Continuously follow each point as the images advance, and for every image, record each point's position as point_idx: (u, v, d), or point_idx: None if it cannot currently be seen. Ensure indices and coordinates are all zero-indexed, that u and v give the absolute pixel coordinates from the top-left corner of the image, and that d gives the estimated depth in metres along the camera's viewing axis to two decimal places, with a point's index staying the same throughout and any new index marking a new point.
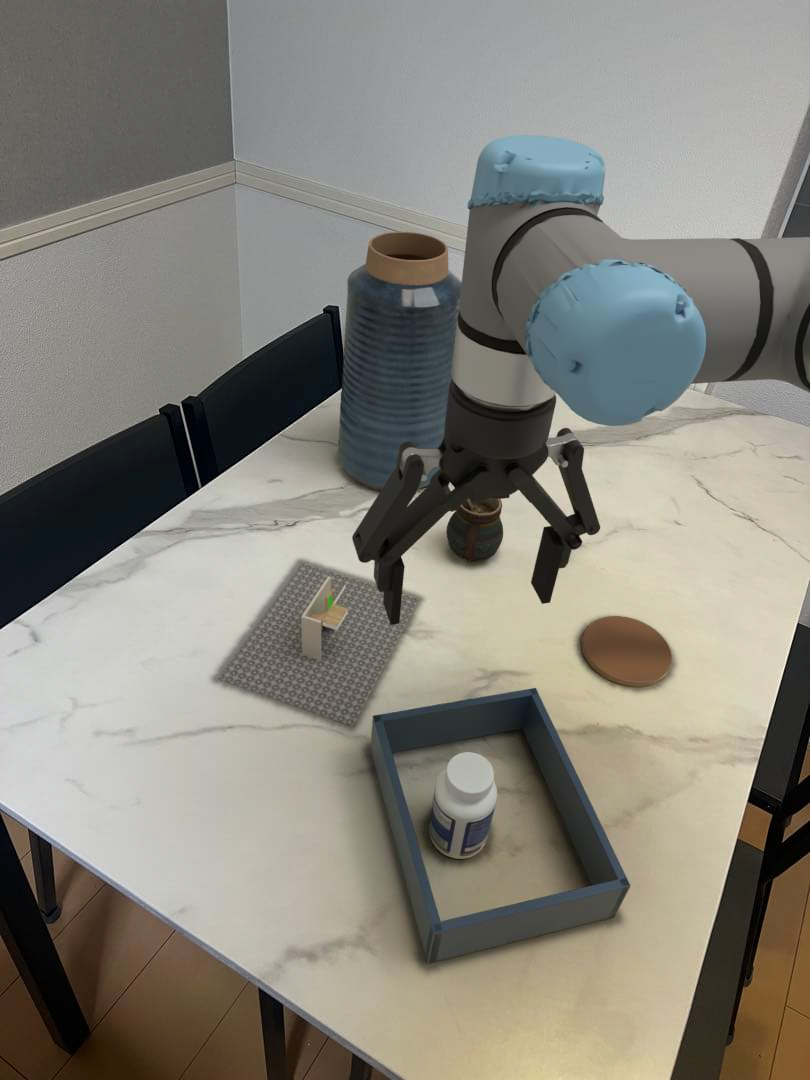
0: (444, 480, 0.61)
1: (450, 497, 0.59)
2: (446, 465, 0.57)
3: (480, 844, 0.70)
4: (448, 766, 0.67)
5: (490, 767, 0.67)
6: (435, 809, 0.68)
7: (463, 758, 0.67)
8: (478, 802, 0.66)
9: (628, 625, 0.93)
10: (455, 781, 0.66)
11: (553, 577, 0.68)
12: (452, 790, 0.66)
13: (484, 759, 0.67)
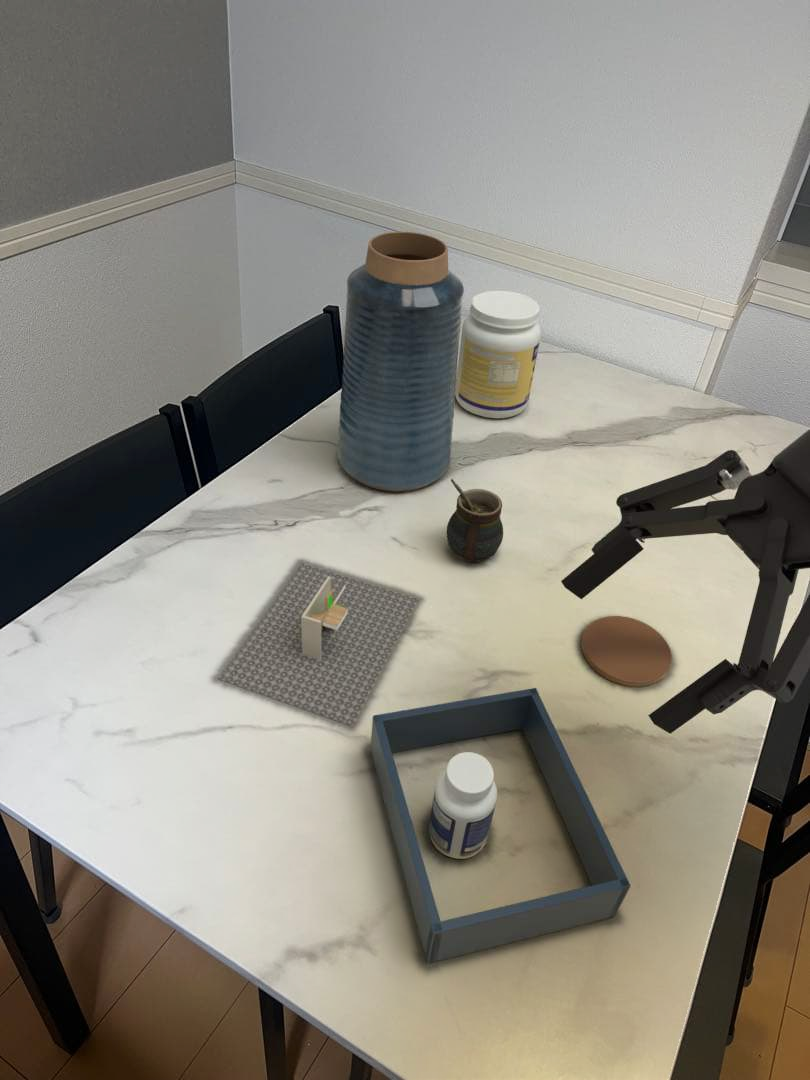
0: None
1: (718, 501, 0.58)
2: (746, 479, 0.58)
3: (480, 844, 0.70)
4: (448, 766, 0.67)
5: (490, 767, 0.67)
6: (435, 809, 0.68)
7: (463, 758, 0.67)
8: (478, 802, 0.66)
9: (628, 625, 0.93)
10: (455, 781, 0.66)
11: (687, 694, 0.54)
12: (452, 790, 0.66)
13: (484, 759, 0.67)
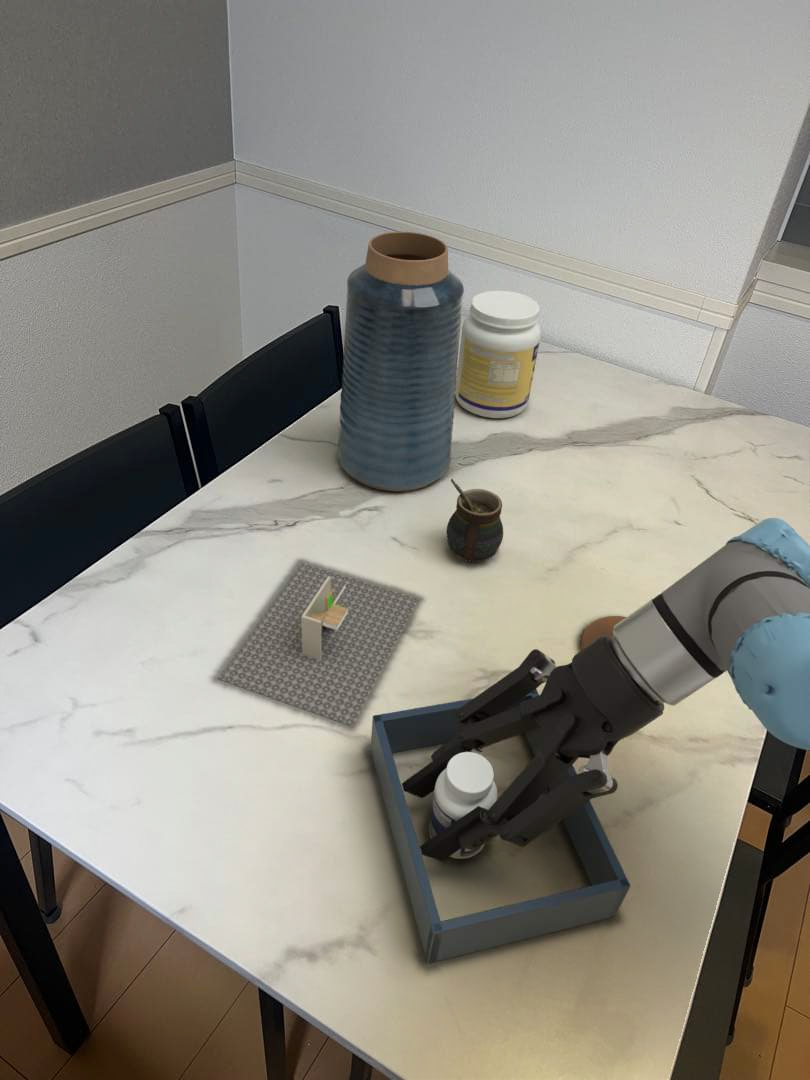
0: None
1: (527, 700, 0.66)
2: (553, 671, 0.67)
3: None
4: (448, 766, 0.67)
5: (490, 767, 0.67)
6: (435, 809, 0.68)
7: (463, 758, 0.67)
8: (478, 802, 0.66)
9: None
10: (455, 781, 0.66)
11: (448, 832, 0.66)
12: (452, 790, 0.66)
13: (484, 759, 0.67)
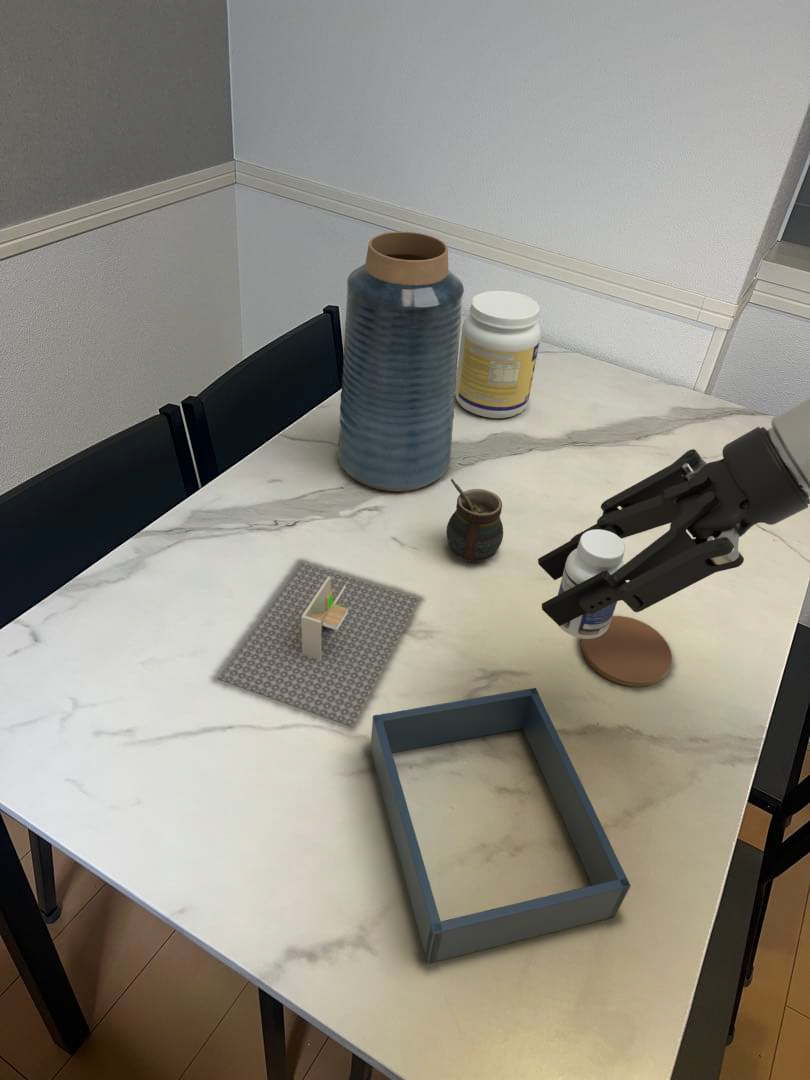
0: None
1: (672, 486, 0.69)
2: (704, 466, 0.69)
3: (599, 626, 0.74)
4: (583, 535, 0.71)
5: (623, 544, 0.70)
6: (563, 579, 0.73)
7: (599, 533, 0.71)
8: None
9: (628, 625, 0.93)
10: (587, 546, 0.70)
11: (570, 592, 0.70)
12: (582, 554, 0.70)
13: (619, 538, 0.71)
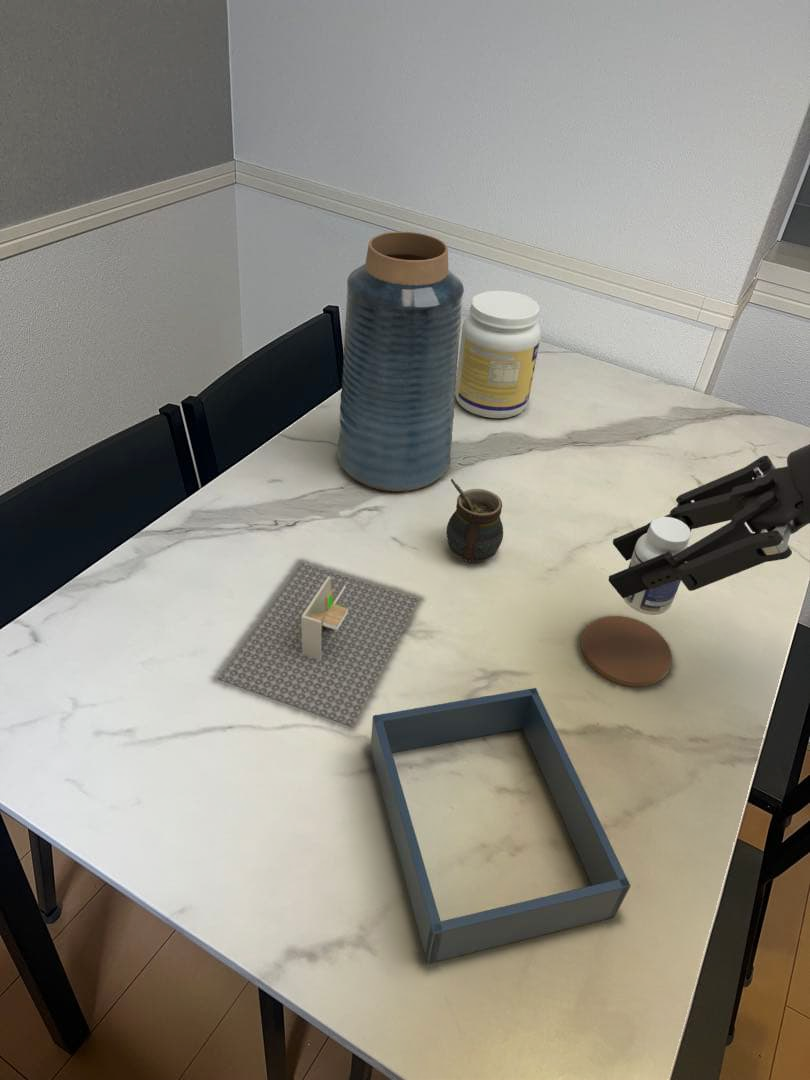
0: None
1: (741, 486, 0.77)
2: (772, 470, 0.76)
3: (660, 604, 0.82)
4: (654, 520, 0.80)
5: (689, 532, 0.79)
6: (632, 557, 0.82)
7: (669, 520, 0.80)
8: None
9: (628, 625, 0.93)
10: (655, 529, 0.79)
11: (635, 568, 0.79)
12: (650, 536, 0.79)
13: (686, 526, 0.79)
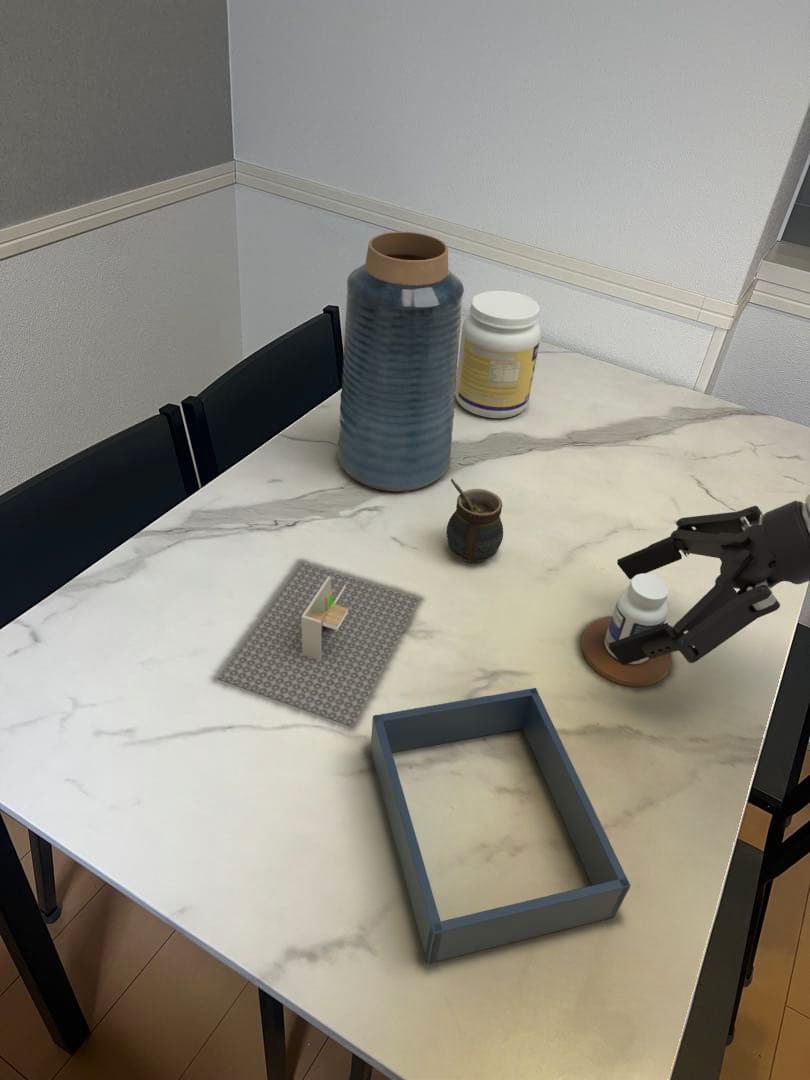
0: None
1: (726, 533, 0.82)
2: (752, 526, 0.81)
3: None
4: (634, 576, 0.85)
5: (667, 589, 0.84)
6: (614, 610, 0.87)
7: (649, 577, 0.85)
8: (648, 611, 0.84)
9: None
10: (636, 586, 0.84)
11: (635, 636, 0.80)
12: (630, 592, 0.84)
13: (665, 583, 0.84)
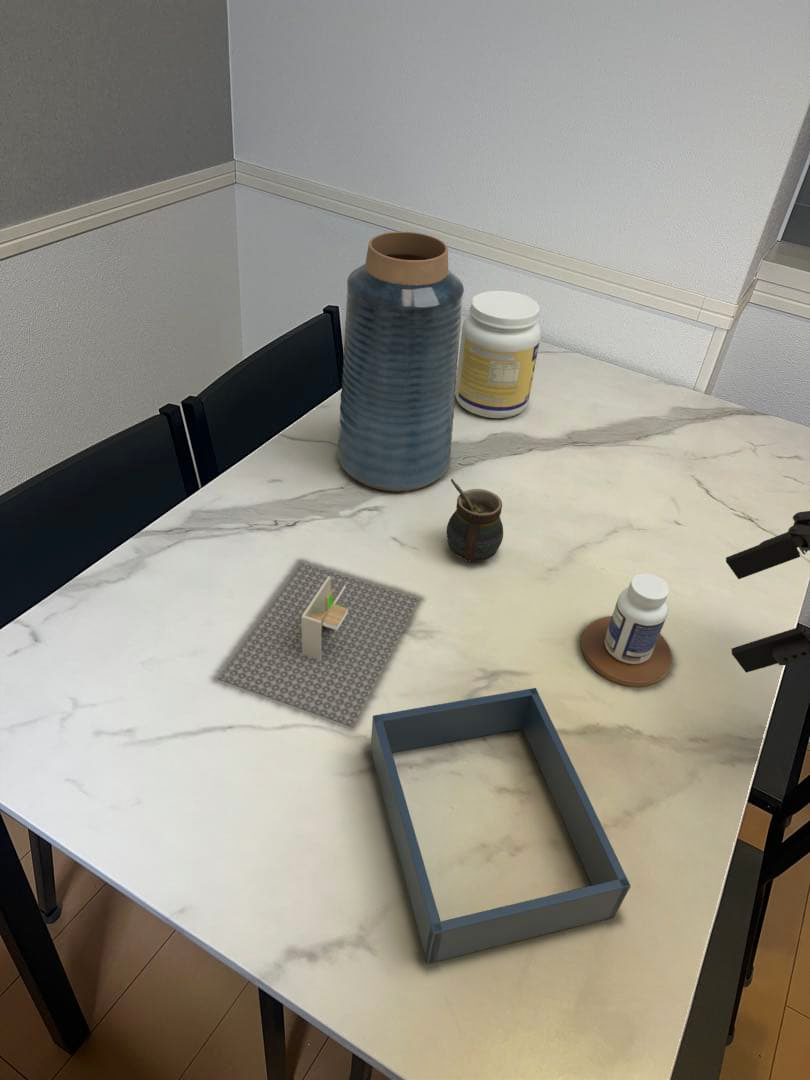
0: None
1: None
2: None
3: (640, 655, 0.87)
4: (634, 576, 0.85)
5: (667, 589, 0.84)
6: (614, 610, 0.87)
7: (649, 577, 0.85)
8: (648, 611, 0.84)
9: None
10: (636, 586, 0.84)
11: (764, 641, 0.72)
12: (630, 592, 0.84)
13: (665, 583, 0.84)
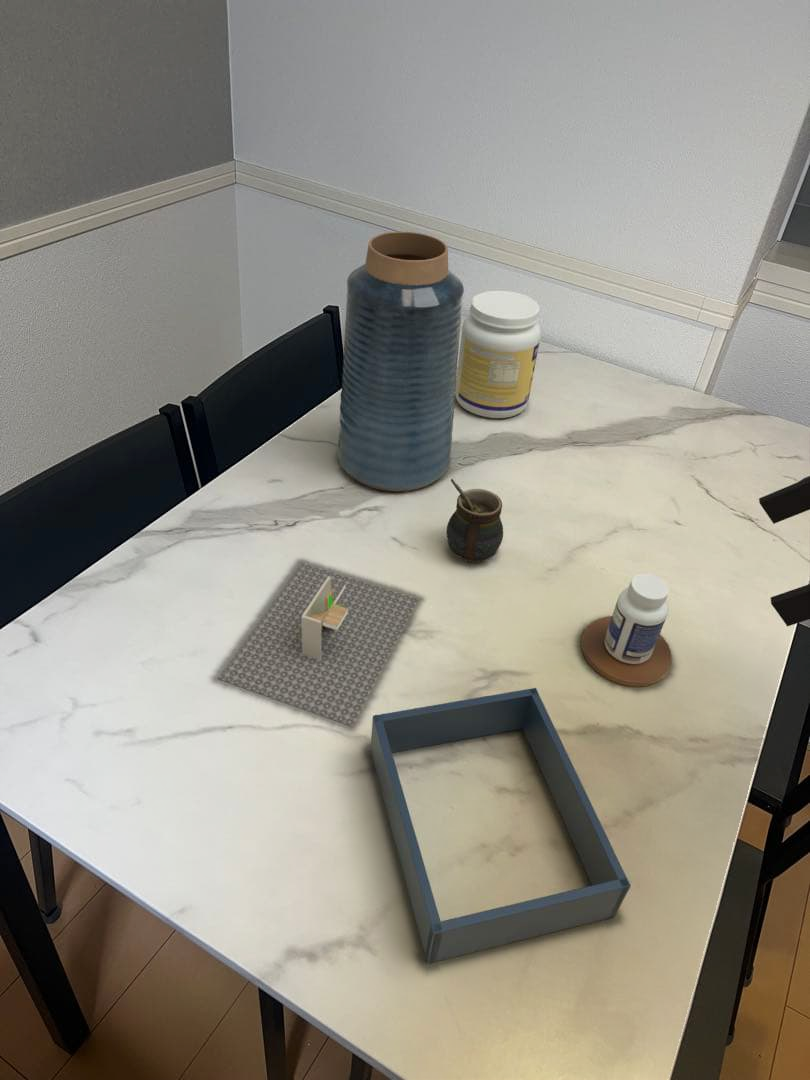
0: None
1: None
2: None
3: (640, 655, 0.87)
4: (634, 576, 0.85)
5: (667, 589, 0.84)
6: (614, 610, 0.87)
7: (649, 577, 0.85)
8: (648, 611, 0.84)
9: None
10: (636, 586, 0.84)
11: None
12: (630, 592, 0.84)
13: (665, 583, 0.84)
